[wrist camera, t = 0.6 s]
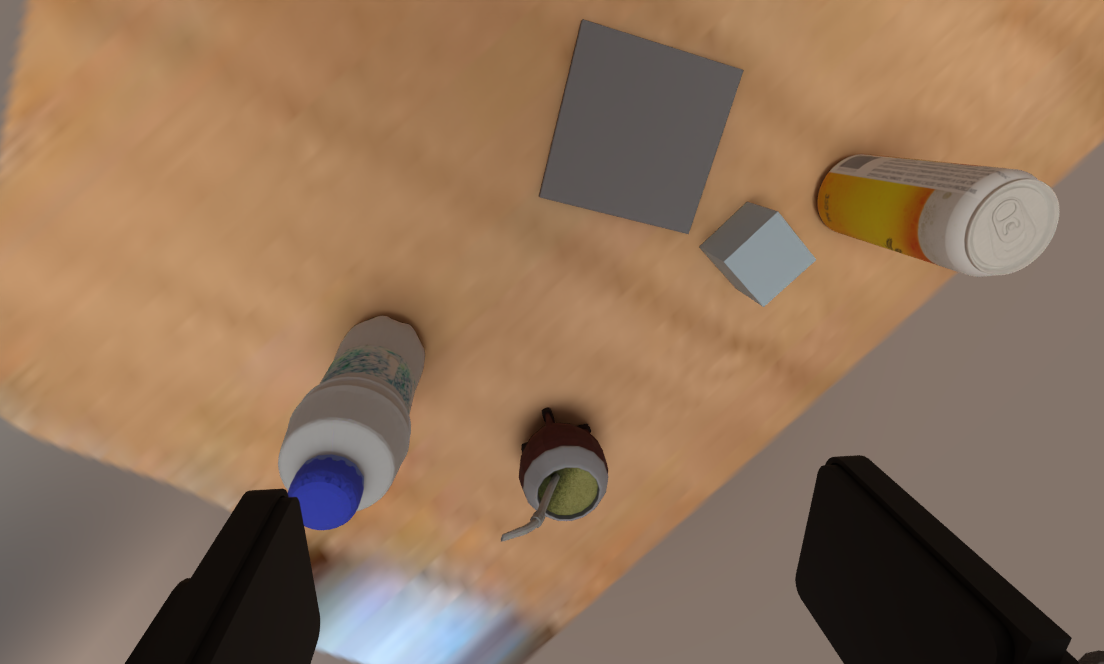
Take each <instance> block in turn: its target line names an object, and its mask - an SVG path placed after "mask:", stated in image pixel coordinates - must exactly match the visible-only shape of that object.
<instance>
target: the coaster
mask: <svg viewBox="0 0 1104 664" xmlns="http://www.w3.org/2000/svg"><path fill="white" fill-rule="evenodd" d="M742 73H743V70H742V69H738V68H735V67H732V66H729V65H726V64H723V63H719V62H716V61H713V60H710V59H707V58H704V57H700V56H697V55H694V54H691V53H688V52H685V51H681V50H678V49H675V48H672V47H669V46H666V45H662V44H659V43H656V42H653V41H650V40H647V39H643V38H640V37H637V36H634V35H631V34H628V33H625V32H621V31H618V30H615V29H612V28H609V27H606V26H602V25H599V24H596V23H593V22H590V21H587V20H582V21H581V25H580V29H579V33H578V37H577V41H576V45H575V49H574V54H573V58H572V62H571V66H570V70H569V74H568V78H567V82H566V87H565V91H564V95H563V99H562V103H561V107H560V111H559V115H558V120H557V124H556V128H555V132H554V136H553V140H552V144H551V149H550V153H549V157H548V161H547V165H546V169H545V173H544V177H543V182H542V186H541V190H540V194H539V197H541V198H545V199H549V200H553V201H557V202H561V203H565V204H569V205H573V206H577V207H581V208H585V209H589V210H593V211H597V212H601V213H605V214H609V215H613V216H617V217H622V218H626V219H630V220H634V221H638V222H642V223H646V224H650V225H654V226H658V227H662V228H666V229H670V230H674V231H678V232H682V233H686V234H689V231H690V228H691V225H692V222H693V219H694V216H695V213H696V210H697V207H698V204H699V201H700V198H701V195H702V192H703V190H704V187H705V184H706V181H707V178H708V175H709V172H710V169H711V166H712V163H713V160H714V157H715V154H716V151H717V148H718V145H719V142H720V139H721V136H722V133H723V130H724V127H725V124H726V121H727V118H728V115H729V112H730V109H731V106H732V103H733V100H734V97H735V94H736V91H737V88H738V85H739V82H740V79H741V76H742Z"/></svg>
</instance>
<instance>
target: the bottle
mask: <svg viewBox="0 0 1104 664" xmlns="http://www.w3.org/2000/svg"><path fill="white" fill-rule="evenodd" d="M424 360H425V352H424V348H423V346H422V344H421V342H420V340H419V338H418V336H417V334H416V332H415V330H414V329H413V328H412V327H411V326H410V325H409V324H406V323H401V322H398V321H396V320H393V319H391V318H389V317H388V316H377V317H375V318H372V319H370V320H367V321H364V322H362V323H359V324H357V325H355V326H354V327H353V328H352V329H351V330H350V331H349V332H348V333H347V334H346V336H345V337H344V339H343V341H342V342H341V344H340V346H339V349H338V351H337V353H336V356H335V358H334V361H333V363H332V364H331V366H330V367H329V369H328V371H327V372H326V374H325V376H324V377H323V379H322V381H321V382H320V384H319V385H318V386H316V387H314V388H313V389H312V390H311V391H310V392H309V393H308V394H307V395H306V396H305V397H304V399H303V400H302V402H301V403H300V404H299V405H298V406H297V407H296V409H295V410H294V412H293V414H292V416H291V418H290V421H289V425H288V429H287V432H286V435H285V438H284V441H283V444H282V447H281V450H280V454H279V461H278V467H279V473H280V477H281V479H282V481H283V483H284V485H285V487H286V488H287V489H288V496H289V497H297V498H298V499H299V502H300V507H301V512H302V518H303V523H304V526H306V527H308V528H311V529H315V530H329V529H333V528H337V527H339V526H341V525H343V524H345V523H346V522H348V521H349V520H350V519H351V518H352V516H353V515H354V514H355V512H356V511H359V510H362V509H365V508H367V507H369V506H371V505H372V504H374V503H375V502H377V501H378V500H380V499H381V498H382V497H383V496H384V494H385V493H386V492H387V491H388V489H389V487H390V486H391V484H392V482H393V480H394V478H395V476H396V474H397V472H398V470H399V468H400V466H401V464H402V462H403V460H404V459H405V457H406V455H407V452H408V448H409V440H410V434H411V421H410V417H409V414H410V410H411V406H412V401H413V397H414V393H415V390H416V387H417V385H418V383H419V380H420V377H421V374H422V372H423V368H424Z"/></svg>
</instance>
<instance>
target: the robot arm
mask: <svg viewBox="0 0 1104 664" xmlns="http://www.w3.org/2000/svg"><path fill="white" fill-rule="evenodd" d="M795 581H796V587H797V591H798V594H799V596H800V598H801V600H802V601H803V603H804V604H805V606H806V607H807V608H808V610H809V611H810V613H811V614H812V616H813V618H814V619H815V621H816V622H817V624H818V625H819V627H820V628H821V630H822V631H823V633H824V634H825V636H826V637H827V638H828V640H829V642H830V643H831V645H832V646H833V648H834V649H835V651H836V652H837V654H838V655H839V657H840V658H841V660H842V661H843V663H844V664H1104V651H1094V652H1089V653H1085V654H1084V655H1083V656H1082V657H1081V659H1079V660H1078V661H1077V660H1076V659H1075V658H1074V657H1073V656H1072V655H1071V654H1070V653H1068V652H1067V651H1066V649H1067V647H1068V645H1069V643H1070V641H1071V637H1070V636H1069V635H1068V634H1067V633H1066V632H1065V631H1063V630H1062V629H1061V628H1060V627H1059V626H1058V625H1057V624H1055V623H1054V622H1053V621H1052V620H1051V619H1050V618H1049V617H1047V616H1046V615H1045V614H1044V613H1043V612H1042V611H1041V610H1039V609H1038V608H1037V607H1036V606H1035V605H1034V604H1033V603H1032V602H1031V601H1029V600H1028V599H1027V598H1026V597H1025V596H1024V595H1023V594H1021V593H1020V592H1019V591H1018V590H1017V589H1016V588H1015V587H1013V586H1012V585H1011V584H1010V583H1009V582H1008V581H1007V580H1006V579H1004V578H1003V577H1002V576H1001V575H1000V574H999V573H998V572H996V571H995V570H994V569H993V568H992V567H991V566H990V565H989V564H987V563H986V562H985V561H984V560H983V559H982V558H981V557H979V556H978V555H977V554H976V553H975V552H974V551H973V550H972V549H970V548H969V547H968V546H967V545H966V544H965V543H963V542H962V541H961V540H960V539H959V538H958V537H957V536H956V535H954V534H953V533H952V532H951V531H950V530H949V529H948V528H947V527H945V526H944V525H943V524H942V523H941V522H940V521H939V520H937V519H936V518H935V517H934V516H933V515H932V514H931V513H929V512H928V511H927V510H926V509H925V508H924V507H923V506H921V505H920V504H919V503H918V502H917V501H916V500H915V499H914V498H912V497H911V496H910V495H909V494H908V493H907V492H906V491H904V490H903V489H902V488H901V487H900V486H899V485H898V484H897V483H895V482H894V481H893V480H892V479H891V478H890V477H889V476H888V475H886V474H885V473H884V472H883V471H882V470H881V469H880V468H878V467H877V466H876V465H875V464H874V463H873V462H872V461H870V460H869V459H868V458H866V457H865V456H860V455H859V456H858V455H857V456H840V457H832V458H830V459H828V461H827V462H826V465H824V466H821V468H820V469H819V471H818V474H817V479H816V484H815V488H814V493H813V498H812V502H811V507H810V512H809V517H808V521H807V526H806V530H805V535H804V540H803V544H802V549H801V553H800V558H799V563H798V567H797V572H796V579H795ZM319 632H320V613H319V608H318V602H317V597H316V591H315V585H314V580H313V574H312V568H311V563H310V557H309V552H308V546H307V540H306V535H305V529H304V523H303V518H302V512H301V507H300V502H299V499H298V498H297V497H289V496H288V493H287V491H286V490H285V489H269V490H252V491H247V492H246V493H245V494H244V495H243V496H242V498H241V500H240V501H239V503H238V504H237V506H236V507H235V509H234V511H233V512H232V514H231V516H230V517H229V519H228V520H227V522H226V523H225V525H224V526H223V528H222V530H221V531H220V533H219V534H218V536H217V537H216V539H215V541H214V542H213V544H212V545H211V547H210V549H209V550H208V552H207V553H206V555H205V556H204V558H203V560H202V561H201V563H200V564H199V566H198V568H197V569H196V571H195V572H194V574H193V575H192V577H191V578H187V579H185V580H183V581H181V582H180V583H179V584H178V585H177V586H176V587H175V588H174V590H173V591H172V592H171V594H170V595H169V597H168V599H167V600H166V601H165V603H164V604H163V606H162V607H161V609H160V610H159V612H158V614H157V615H156V617H155V618H154V620H153V621H152V623H151V624H150V626H149V627H148V629H147V630H146V632H145V633H144V635H143V636H142V638H141V639H140V641H139V643H138V644H137V646H136V647H135V649H134V650H133V652H132V653H131V655H130V656H129V658H128V659H127V661H126V662H125V664H311V660H312V657H313V654H314V651H315V648H316V644H317V641H318V637H319Z"/></svg>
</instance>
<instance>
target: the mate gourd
mask: <svg viewBox="0 0 1104 664" xmlns="http://www.w3.org/2000/svg"><path fill="white" fill-rule="evenodd" d="M542 414H543V418H544V421H545V424H546V426H544V427H542V428H541V429H540V430H539V431H538V432H536V433H535V434H534V435H533V436H532V437H531V439H530V440H529V442H527V443H524V444H522V448H521V450H522V452H523V453H522V455H521V460H520V469H519V480H520V483H521V486H522V488H523V491H524V493H525V496H526V498H527V500H528V503H529V504H530V505H531V506H532V507H533V508H534V509H535V510H537V511H536V512H534V514H533V516H532V517H531V519H530V521H531V522H529V523H528V524H526V525H524V526H522V527H519V528H517V529H515V530H512V531H510V532H507V533H505V534H503V535H502V537H501V542H502V541H506V540H509V539H512V538H515V537H519V536H522V535H525V534H527V533H529V532H531V531H532V530H534V529H535V528H538V527H539V526H541V524H542V523H543V521H544V519H545V516H546V517H549V518H552V519H554V520H557V521H572V520H576V519H579V518H582V517H584V516H586V515H587V514H588V513H590V512H591V511H592V510H594V509H595V508H596V507H597V505H598V504H599V502H600V501H601V499H602V498H603V496H604V494H605V493H606V488H607V482H608V467H607V463H606V460H605V456H604V453H603V450H602V448H601V446H600V444H599V443H598V441H597V440H596V439H595V438H594V437H593V436H592V435H591V434H590V433H591V429H590V427H589V426H588V424H583V425H579V426H574V425H572V424H565V423H555V420H554V417H553V414H552V412H551V409H550V408H545V409H543V410H542Z"/></svg>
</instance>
